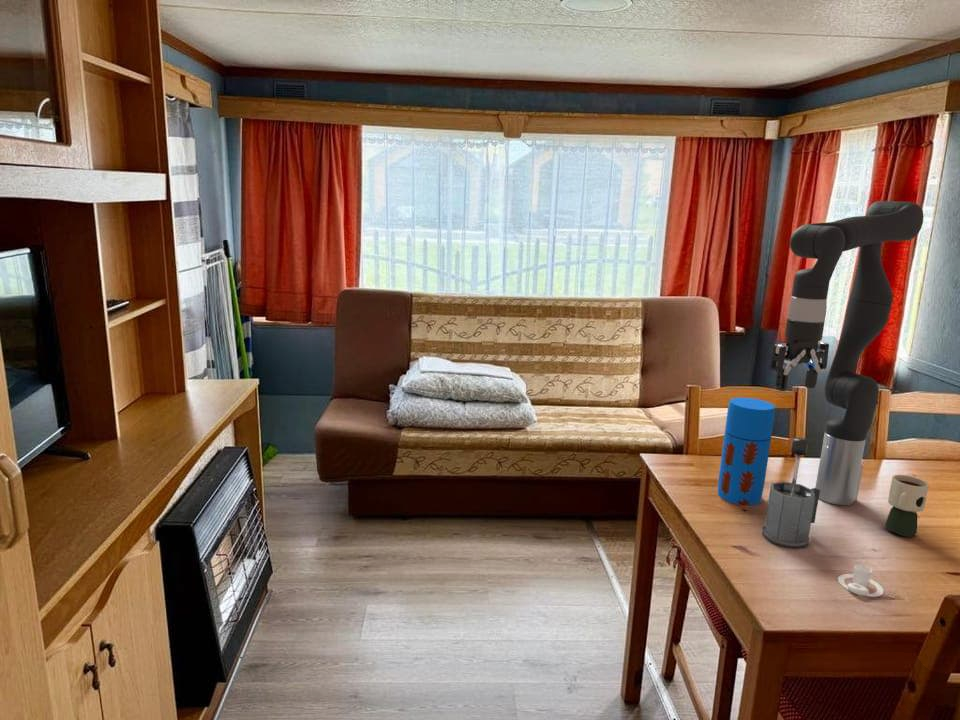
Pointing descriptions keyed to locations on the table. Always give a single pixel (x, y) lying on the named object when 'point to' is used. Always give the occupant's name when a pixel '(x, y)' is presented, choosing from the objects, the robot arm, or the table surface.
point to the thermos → (745, 450)
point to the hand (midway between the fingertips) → (795, 388)
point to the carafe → (790, 515)
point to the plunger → (797, 462)
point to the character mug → (906, 504)
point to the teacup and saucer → (860, 581)
